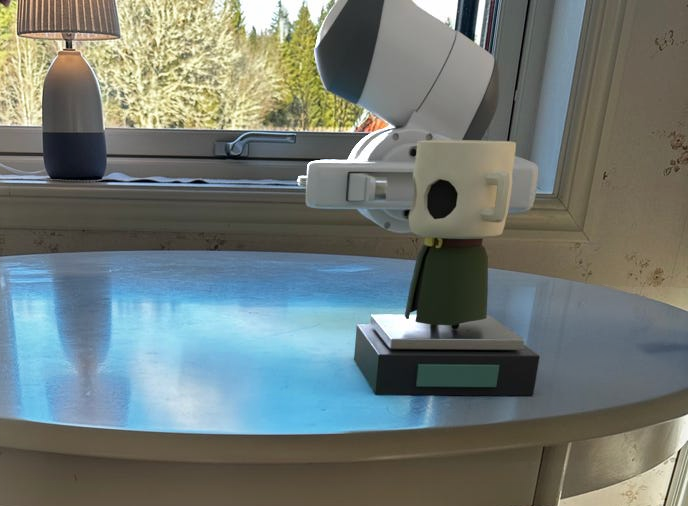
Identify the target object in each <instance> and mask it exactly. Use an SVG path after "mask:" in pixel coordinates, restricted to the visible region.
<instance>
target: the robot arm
mask: <svg viewBox="0 0 688 506" xmlns="http://www.w3.org/2000/svg"><path fill="white" fill-rule="evenodd" d="M313 52H314V53H313V54H314V59H315V64H316V68H317V71H318V74H319V78H320V80H321V83H322V85H323V87H324V89H325V91H326V92H328V93H330V94H333V95H335V96H337V97H339V98H341V99H343V100H344V101H347V102H349V103H351V104H352V105H355V106H356V105H358V106H359V107H361V108H362V109H365V110H366V111H367V112H369V113H371V114H372V115H374V116H375V117H377V118H378V119H380V120H381V121H383V122H384V123H386V124H387V125H388V126H386V127H384V128H381V129H378V130H376V131H373V132H371V133H369V134H368V135H366V136H364V137H363V138H362V139H361V140H360V141H359V142H358V143H357V144H356V145H355V146H354V148H353V149H352V150H351V153H350V154H349V156H348V158H347V159H320V160H313V161H310V162H308V164H307V166H306V167H307V168H306V175H299V176H298V178H297V180H296V183H297V186H298V187H299V188H305V197H304V199H305V200H304V201H305V205H306V206H307V207H308V208H312V209H327V210H328V209H329V210H333V209H334V210H339V209H340V210H357V211H358V212H359V214H361V215H362V216H363V217H365V218H367V219H368V220H370V221H371V222H373V223H374V224H376V225H378V226H379V227H381V228H383V229H385V230H387V231H389V232H393V233H397V234H398V233H400V234H406V233H413V232H412V231H411V229H410V226H409V213H410V210H411V206H412V203H413V196H414V180H413V172H414V167H415V161H416V151H417V144H418V141H428V140H480V141H482V139H483V138H484V136H485V134H486V133H487V131H488V129H489V127H490V126H491V123H492V121H493V119H494V117H495V114H496V113H497V109H498V105H499V101H500V70H499V65H498V62H497V58H496V56H495V55H493V54H492V53H490V52H489V51H487V50H486V49H485V48H484V47H482V46H480V45H479V44H477V43H476V42H474V41H473V40H472V39H470V38H469V37H468V36H466V35H465V34H463V33H462V32H460V31H459V30H457V29H456V30H455V29H454V28H452V27H451V26H449V25H448V24H447V23H446V22H443V21H442V20H441V19H439V18H438V17H436V16H435V15H433V14H432V13H430V12H428V11H427V10H426V9H424V8H423V7H422V6H420V5H418V4H417V3H415V2H414V1H413V0H336V2H335V3H334V4H333V6H331V8H330V10H329V11H328V13H327V14H326V17H325V18H324V20H323V21H322V24H321V27H320V28H319V32H318V35H317V38H316V43H315V46H314V48H313ZM538 182H539V166H538V165H537V164H536V163H535V162H534V161H530V160H528V159H525V158H523V157H520V156H516V155H515V158H514V165H513V172H512V189H511V196H510V202H509V209H508V214H515V213H516V214H517V213H525V212H528V211H530V210H531V209H532V208H533V206H534V203H535V199H536V195H537V188H538Z"/></svg>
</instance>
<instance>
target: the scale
mask: <svg viewBox="0 0 688 506" xmlns="http://www.w3.org/2000/svg"><path fill="white" fill-rule="evenodd" d="M540 358H541V356H540V355H539V354H538V353H536V352H535V351H534V350H532V349H531V348H530V347H528V346H527V345H525V344H524V347H523V350H414V349H390V348H389V347H388V345H387V344H386V343H385V342H384V340H383V339H382V338H381V336H380V335H379V334H378V333H377V331H376V330H375V329H374V328H373V326H372V325H371V323H357V324H356V329H355V342H354V353H353V359H354V361H355V363H356V365H357V367H358V369H359V370H360V371H361V374H362V375H363V376H364V378H365V380H366V381H367V383H368V384H369V386H370V388H371V390H372V391H373V393H374V395H375V396H376V395H379V396H380V395H381V396H385V395H387V396H392V395H393V396H492V397H493V396H495V397H496V396H497V397H498V396H503V397H504V396H507V397H509V396H511V397H514V396H516V397H532V396H534V393H535V386H536V381H537V374H538V369H539V365H540Z"/></svg>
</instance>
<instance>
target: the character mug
mask: <svg viewBox="0 0 688 506" xmlns="http://www.w3.org/2000/svg"><path fill="white" fill-rule="evenodd" d="M516 149H517V142H516V141H515V142H514V141H511V140H481V141H480V140H428V141H418V144H417V151H416V161H415V167H414V172H413V180H414V196H413V203H412V206H411V210H410V213H409V226H410V229H411V231H412V232H411V233H413V234H414V235H416V236H419V237H424V244H423V245H422V246H421V248H420V249H419V252H418V253H417V256H416V261H415V265H414V269H413V273H412V278H411V281H410V286H409V290H408V295H407V302H406V305H405V306H406V307H405V310H404V315H405V318H406V319H409V316H410V315H411V313H414V312H416V314H415V315H416V320H415V322H418V323H424V324H431V325H451V327H452V329H458V328H459V324H461V323H466V322H470V321H477V320H483V319H486V317H487V316H488V315H487V313H488V295H489V294H488V293H489V288H488V287H489V257H488V253H487V249H486V248H485V246H484V245H483V240H484V239H491V238H495V237H498V236H500V235H502V234H503V232H504V229H505V226H506V219H507V217H508V215H509V213H508V209H509V202H510V196H511V189H512V172H513V165H514V158H515V156H516Z"/></svg>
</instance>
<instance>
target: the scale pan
mask: <svg viewBox="0 0 688 506" xmlns="http://www.w3.org/2000/svg"><path fill="white" fill-rule="evenodd" d="M370 315H371V316H370V324H371V325H372V326H373V328H374V329H375V330H376V331H377V333H378V334H379V335H380V336H381V338H382V339H383V340H384V342H385V343H386V344H387V345H388V347H389V348H390V349H414V350H523V347H524V345H525V338H522V337H521V336H520V335H518V334H517V333H516V332H514V331H512V330H511V329H510V328H509V327H507V326H505V325H504V324H503V323H501V322H500V321H498V320H497V319H495V318H494V316H493V317H492V315H487V317H486V319H483V320H477V321H470V322H466V323H461V324H459V328H458V329H452V327H451V325H431V324H424V323H418V322H415V320H416V314H410V316H409V319H406V318H405V314H370Z"/></svg>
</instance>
